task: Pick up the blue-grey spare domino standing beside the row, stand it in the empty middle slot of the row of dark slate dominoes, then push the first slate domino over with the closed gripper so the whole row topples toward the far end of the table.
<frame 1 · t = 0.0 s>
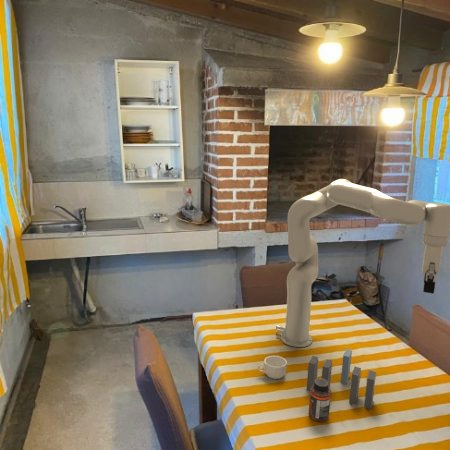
hand: (428, 288, 139), 31 cm above the table, tool pointing down, fingers open, 9 cm apart
supplement bottle: (318, 416, 120), on the table
domino 2: (325, 391, 132), on the table
domino 1: (311, 387, 134), on the table
teacup: (271, 376, 140), on the table
spare domino: (345, 379, 139), on the table
domino 4: (353, 399, 128), on the table
domino 5: (368, 403, 126), on the table
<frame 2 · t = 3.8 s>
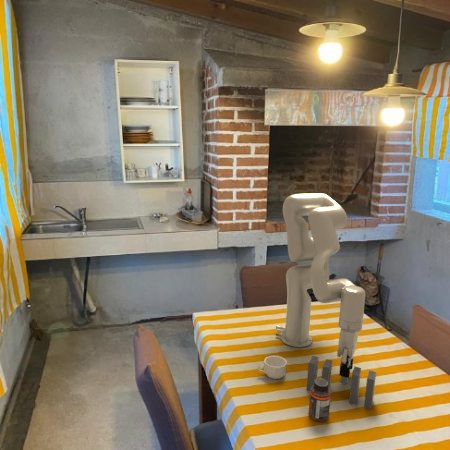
hand: (345, 371, 138), 3 cm above the table, tool pointing down, fingers closed on spare domino, 4 cm apart
spare domino: (345, 379, 139), on the table, touching gripper
everything else where it was.
when the fingers open (4 cm above the table, at t = 8.4 s): spare domino drops 1 cm, on the table.
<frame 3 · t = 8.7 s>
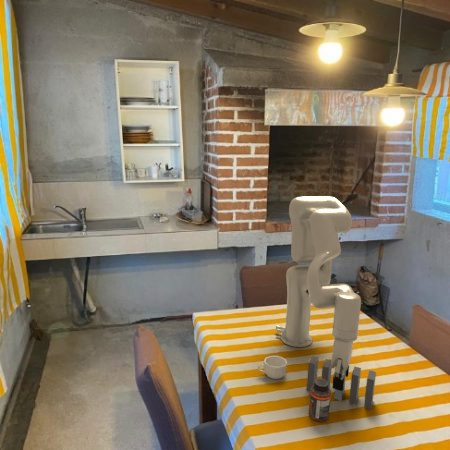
hand: (340, 381, 129), 5 cm above the table, tool pointing down, fingers open, 8 cm apart
spare domino: (339, 395, 130), on the table
everything else where it was.
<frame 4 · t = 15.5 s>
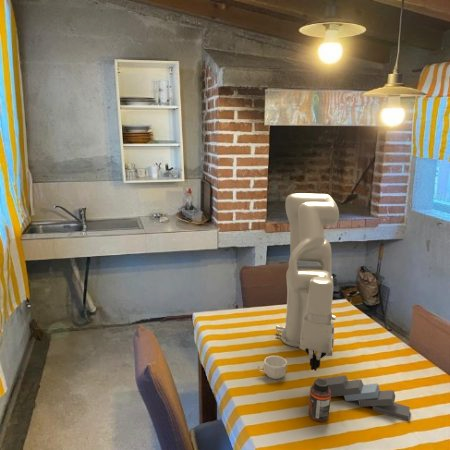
hand: (314, 368, 132), 7 cm above the table, tool pointing down, fingers closed
domino 2: (330, 390, 131), point 1 cm above the table, tilted 64°, touching domino 1, spare domino
domino 1: (316, 385, 133), point 1 cm above the table, tilted 65°, touching domino 2
spare domino: (346, 394, 129), point 1 cm above the table, tilted 64°, touching domino 2, domino 4
domino 4: (360, 399, 127), point 1 cm above the table, tilted 67°, touching domino 5, spare domino
domino 5: (373, 404, 125), on the table, tilted 90°, touching domino 4
everything else where it was.
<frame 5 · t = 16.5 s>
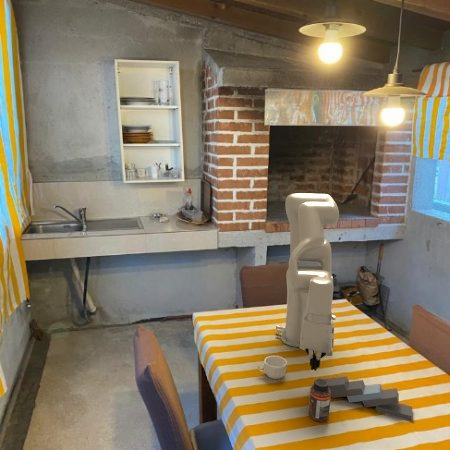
hand: (314, 368, 132), 7 cm above the table, tool pointing down, fingers closed
domino 4: (364, 399, 127), point 1 cm above the table, tilted 66°, touching spare domino
domino 5: (376, 404, 125), on the table, tilted 90°
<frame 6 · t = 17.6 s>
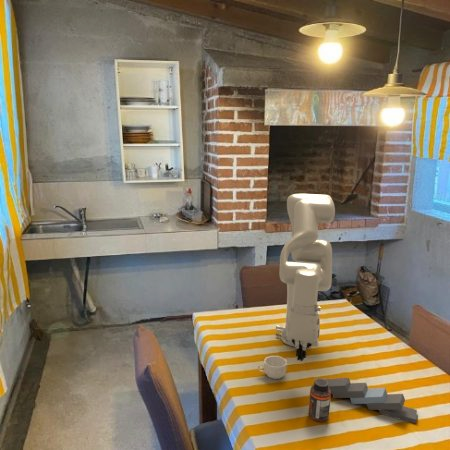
hand: (300, 358, 134), 9 cm above the table, tool pointing down, fingers closed
spare domino: (353, 396, 128), point 1 cm above the table, tilted 66°, touching domino 2, domino 4
domino 4: (369, 402, 125), point 1 cm above the table, tilted 66°, touching spare domino
domino 5: (380, 407, 124), on the table, tilted 90°
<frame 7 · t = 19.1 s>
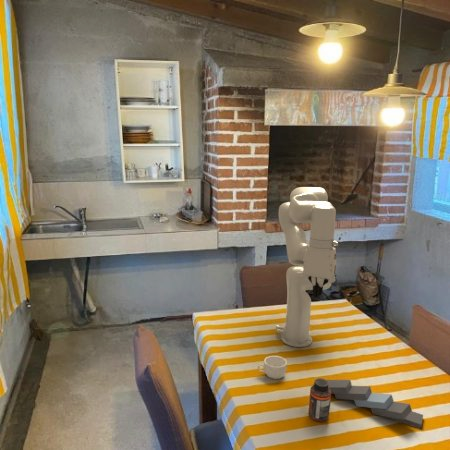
hand: (317, 296, 135), 29 cm above the table, tool pointing down, fingers closed
domino 2: (337, 392, 130), point 1 cm above the table, tilted 69°, touching domino 1, spare domino
spare domino: (359, 398, 127), point 1 cm above the table, tilted 67°, touching domino 2, domino 4
domino 4: (376, 406, 123), point 1 cm above the table, tilted 68°, touching domino 5, spare domino
domino 5: (385, 410, 123), on the table, tilted 90°, touching domino 4
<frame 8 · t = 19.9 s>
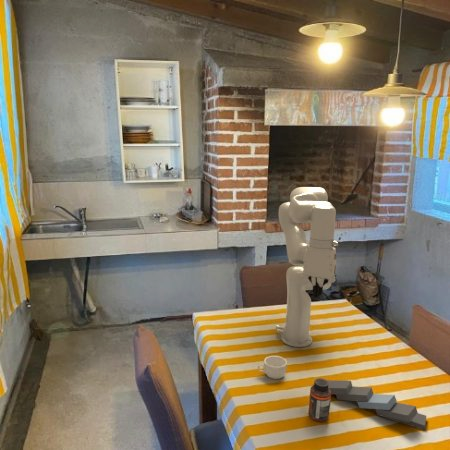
hand: (317, 296, 135), 29 cm above the table, tool pointing down, fingers closed
spare domino: (362, 400, 126), point 1 cm above the table, tilted 64°, touching domino 2
domino 4: (380, 407, 122), point 2 cm above the table, tilted 70°, touching domino 5
at the end: domino 5 tilted 90°; spare domino tilted 63°; the gripper is holding nothing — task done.
